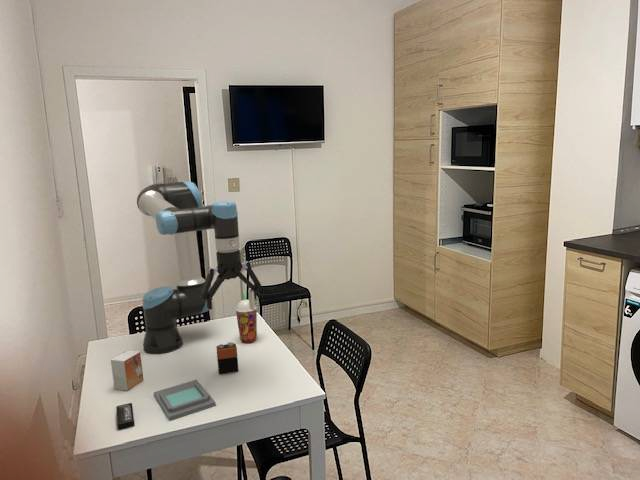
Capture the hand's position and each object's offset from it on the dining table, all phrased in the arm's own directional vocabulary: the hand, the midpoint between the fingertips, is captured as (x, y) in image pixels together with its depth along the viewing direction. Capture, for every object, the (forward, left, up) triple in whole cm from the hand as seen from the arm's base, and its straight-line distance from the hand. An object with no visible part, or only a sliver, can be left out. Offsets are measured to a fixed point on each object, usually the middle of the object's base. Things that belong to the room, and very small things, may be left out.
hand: (233, 313), depth 157 cm
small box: (-20, -31, -24) cm, 44 cm away
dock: (+2, -19, -23) cm, 30 cm away
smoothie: (-30, +17, -24) cm, 42 cm away
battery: (-9, 0, -24) cm, 25 cm away
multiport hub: (+2, -36, -24) cm, 44 cm away
